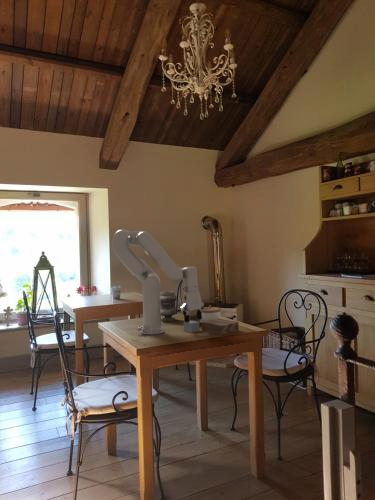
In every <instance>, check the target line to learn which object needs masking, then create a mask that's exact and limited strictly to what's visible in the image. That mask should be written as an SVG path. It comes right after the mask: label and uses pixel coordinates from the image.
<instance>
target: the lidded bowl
mask: <svg viewBox="0 0 375 500" xmlns="http://www.w3.org/2000/svg"><path fill="white" fill-rule="evenodd" d="M201 313H202V319H200V322H201V323H203V322H207V321H212V320H216V319H221V315H222V314H221V307H217V306H216V307H215V306H212V305H208V307H203V309H202V312H201Z"/></svg>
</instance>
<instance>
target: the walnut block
mask: <svg viewBox="0 0 375 500" xmlns="http://www.w3.org/2000/svg"><path fill="white" fill-rule="evenodd" d="M239 328H240V327H239V321H236V320H235V321H233V320H228V319H221V318H220V319H216V320H212V321H207V322H201V332H205V333H210V334H213V333H214V334H215V335H218V334H219V336H224V335H226V333H227V334H231V333H235V332H238V331H237V330H239ZM234 331H235V332H234ZM230 332H231V333H230ZM223 334H224V335H223Z"/></svg>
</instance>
